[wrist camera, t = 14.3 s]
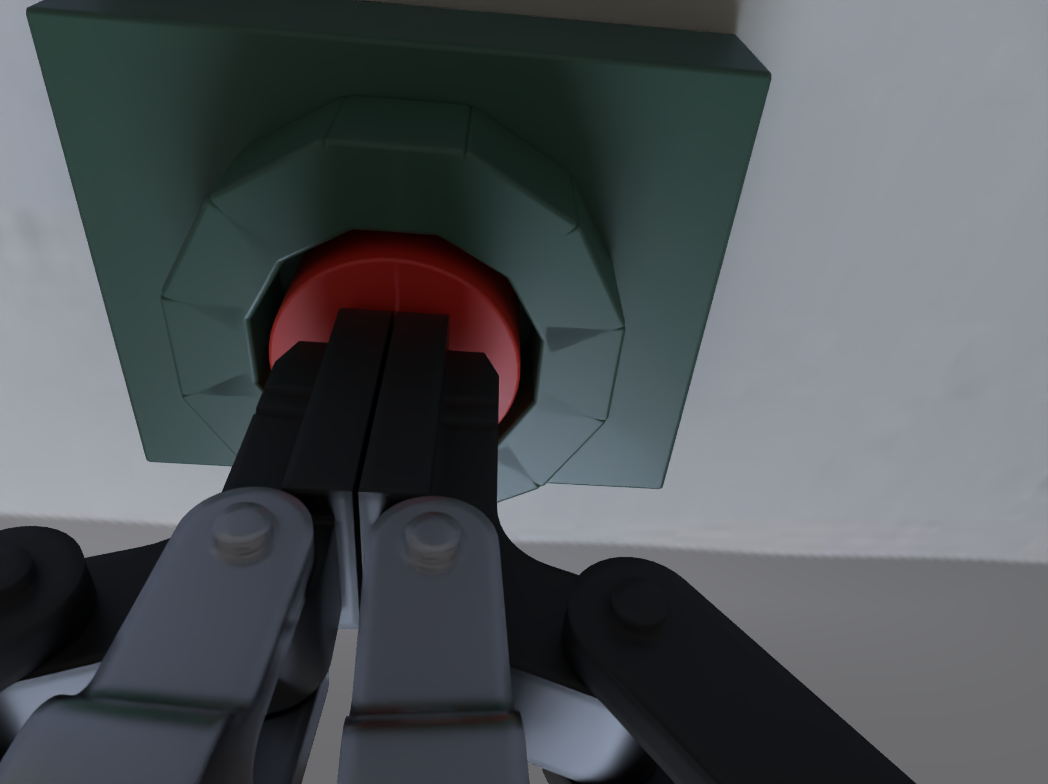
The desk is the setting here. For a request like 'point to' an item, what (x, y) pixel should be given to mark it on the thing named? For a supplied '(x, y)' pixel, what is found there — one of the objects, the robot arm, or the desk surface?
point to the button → (404, 296)
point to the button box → (405, 198)
